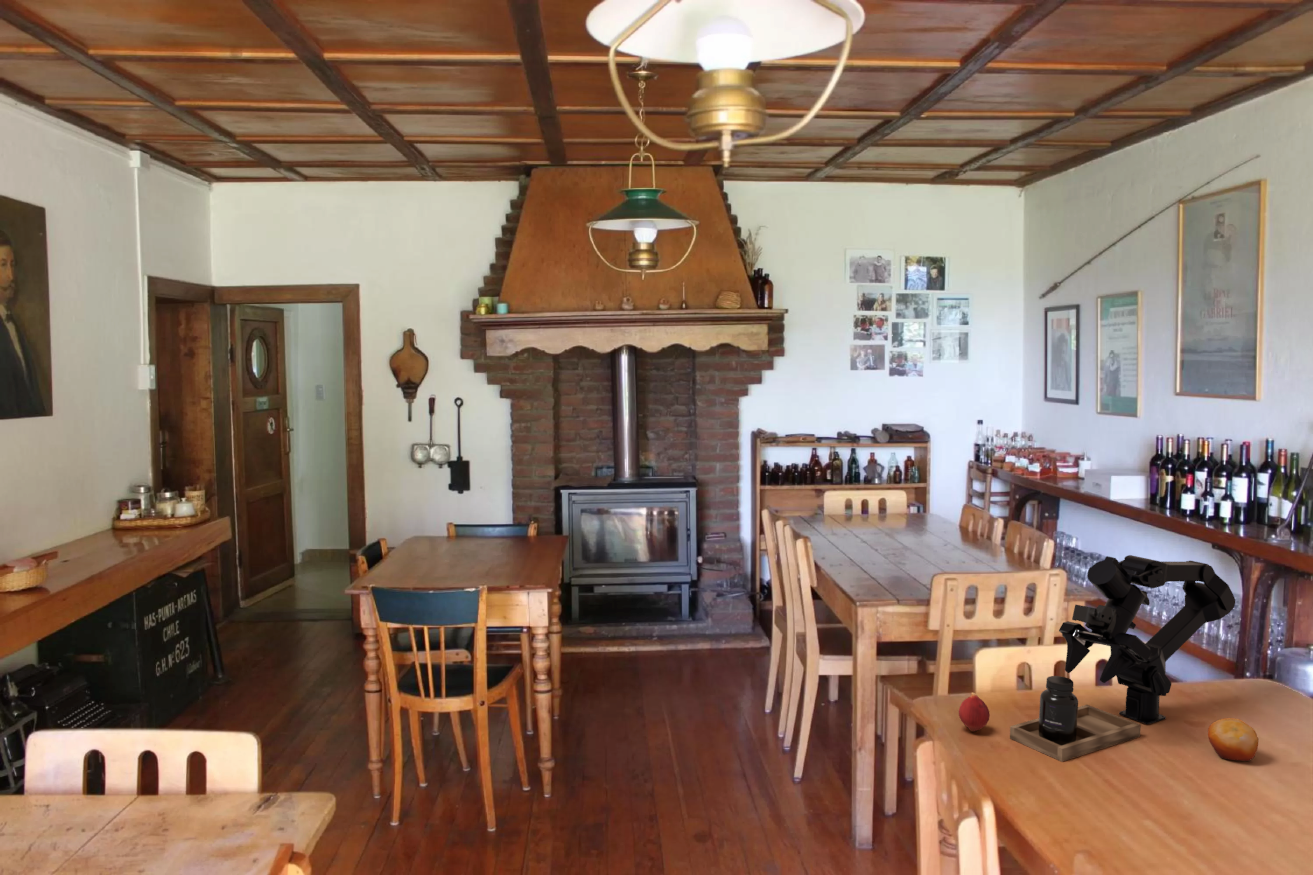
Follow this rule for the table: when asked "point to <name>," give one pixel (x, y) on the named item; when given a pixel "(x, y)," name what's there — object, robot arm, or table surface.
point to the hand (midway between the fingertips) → (1084, 676)
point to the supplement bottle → (1058, 711)
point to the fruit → (1233, 739)
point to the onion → (974, 713)
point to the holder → (1079, 734)
